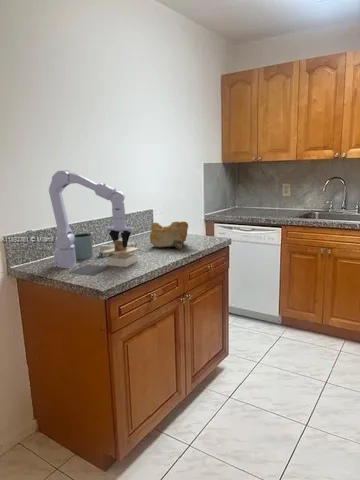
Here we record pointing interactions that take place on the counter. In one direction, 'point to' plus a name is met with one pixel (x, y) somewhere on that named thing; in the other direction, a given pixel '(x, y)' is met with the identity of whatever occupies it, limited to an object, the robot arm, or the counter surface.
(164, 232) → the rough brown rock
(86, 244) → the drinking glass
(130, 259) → the dish
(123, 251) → the lid
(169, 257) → the counter surface
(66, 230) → the robot arm
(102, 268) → the mat
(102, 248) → the toothpaste tube
